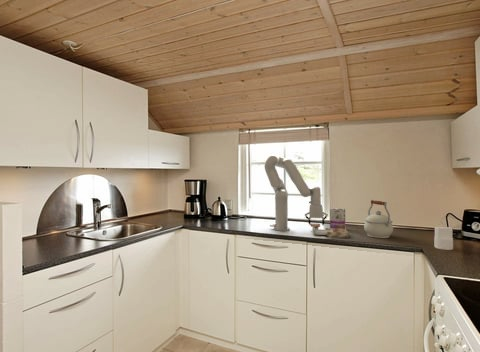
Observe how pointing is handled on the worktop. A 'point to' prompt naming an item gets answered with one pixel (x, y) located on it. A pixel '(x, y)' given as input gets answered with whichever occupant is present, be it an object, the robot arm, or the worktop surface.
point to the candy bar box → (337, 218)
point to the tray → (320, 231)
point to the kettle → (378, 223)
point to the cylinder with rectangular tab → (443, 238)
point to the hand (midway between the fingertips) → (316, 225)
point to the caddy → (338, 233)
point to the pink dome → (315, 225)
